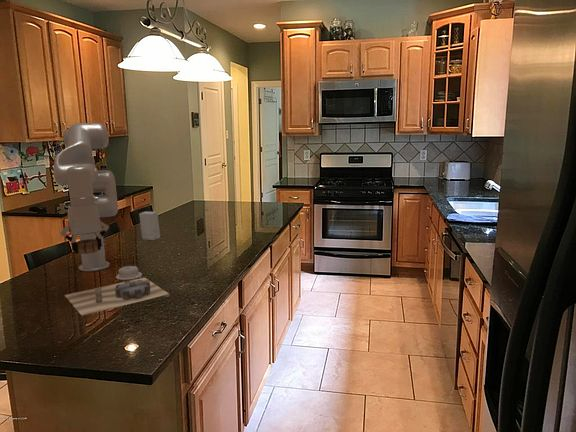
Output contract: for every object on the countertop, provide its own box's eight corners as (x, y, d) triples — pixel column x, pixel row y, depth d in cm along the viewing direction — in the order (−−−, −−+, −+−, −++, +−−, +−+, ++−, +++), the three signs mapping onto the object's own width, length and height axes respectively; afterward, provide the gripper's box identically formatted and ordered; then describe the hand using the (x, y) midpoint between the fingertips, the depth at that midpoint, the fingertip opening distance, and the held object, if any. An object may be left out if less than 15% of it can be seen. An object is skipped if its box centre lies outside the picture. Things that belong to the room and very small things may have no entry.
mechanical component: (146, 277, 190) (133, 273, 196) (146, 267, 189) (132, 263, 195) (125, 284, 182) (111, 279, 189) (124, 273, 182) (110, 269, 188)
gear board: (64, 297, 169) (62, 283, 168) (145, 279, 187) (143, 266, 185) (82, 318, 150) (80, 302, 149) (169, 296, 168) (168, 282, 167)
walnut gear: (74, 250, 166) (73, 241, 165) (95, 247, 170) (94, 238, 169) (79, 255, 161) (78, 245, 160) (100, 251, 165) (99, 242, 164)
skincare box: (160, 238, 255) (158, 211, 252) (153, 240, 249) (151, 213, 247) (148, 236, 258) (146, 210, 255) (140, 239, 253) (138, 212, 250)
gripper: (105, 197, 170) (109, 244, 173) (52, 203, 160) (58, 253, 163) (110, 200, 164) (115, 249, 167) (57, 206, 154) (63, 257, 157)
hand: (87, 250), depth 165 cm, fingers closed on walnut gear, 7 cm apart
